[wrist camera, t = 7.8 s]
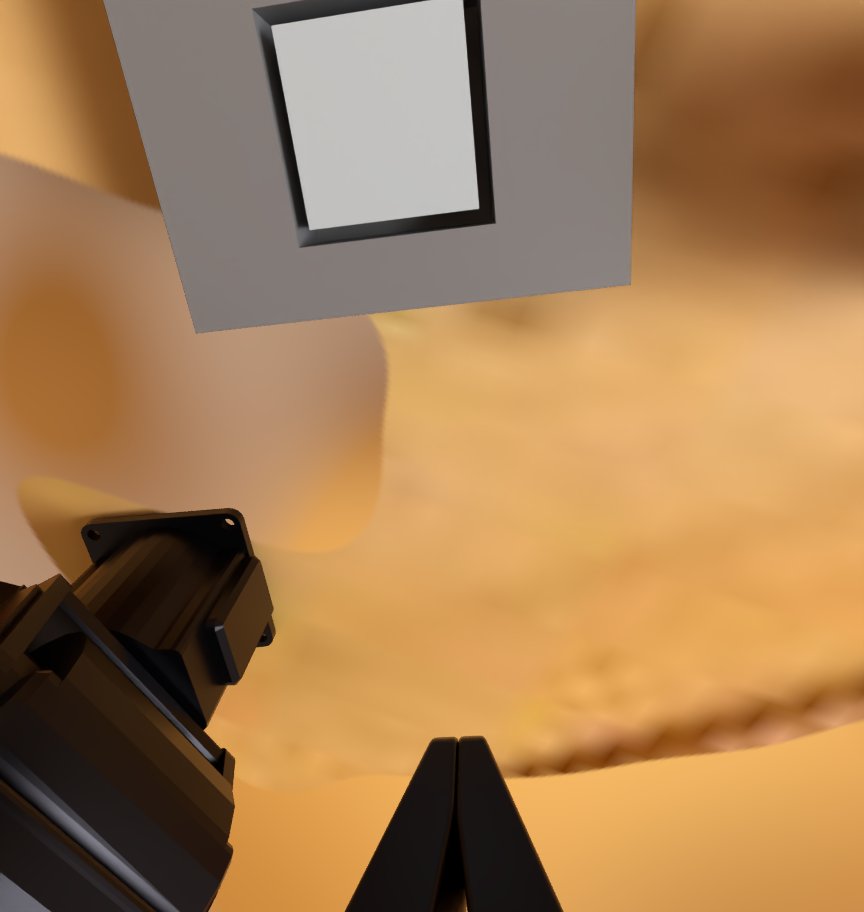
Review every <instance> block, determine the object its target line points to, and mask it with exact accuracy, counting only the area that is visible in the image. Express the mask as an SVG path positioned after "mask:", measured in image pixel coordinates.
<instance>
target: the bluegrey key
mask: <svg viewBox="0 0 864 912" xmlns="http://www.w3.org/2000/svg"><path fill="white" fill-rule="evenodd" d="M271 27H272V33H273V38H274V43H275V49H276V54H277V59H278V65H279V70H280V75H281V81H282V86H283V91H284V97H285V102H286V107H287V113H288V118H289V123H290V129H291V134H292V139H293V145H294V150H295V155H296V161H297V166H298V171H299V177H300V182H301V187H302V193H303V198H304V203H305V209H306V214H307V219H308V225H309V230H315V229H323V228H331V227H339V226H347V225H355V224H362V223H370V222H378V221H386V220H394V219H402V218H410V217H418V216H426V215H433V214H441V213H449V212H457V211H465V210H473V209H479V200H478V188H477V175H476V162H475V149H474V137H473V124H472V111H471V98H470V86H469V73H468V60H467V47H466V35H465V22H464V9H463V0H428V1H422V2H416V3H409V4H403V5H397V6H391V7H385V8H378V9H372V10H366V11H360V12H354V13H347V14H341V15H335V16H329V17H323V18H316V19H310V20H304V21H298V22H292V23H285V24H279V25H273V26H271Z"/></svg>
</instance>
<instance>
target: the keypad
mask: <svg viewBox="0 0 864 912" xmlns="http://www.w3.org/2000/svg"><path fill="white" fill-rule="evenodd" d="M422 1H428V0H103V2H104V5H105V9H106V13H107V16H108V20H109V23H110V27H111V30H112V34H113V38H114V41H115V45H116V48H117V52H118V56H119V59H120V63H121V66H122V70H123V74H124V77H125V81H126V84H127V88H128V91H129V95H130V99H131V102H132V106H133V109H134V113H135V117H136V120H137V124H138V127H139V131H140V135H141V138H142V142H143V145H144V149H145V152H146V156H147V160H148V163H149V167H150V170H151V174H152V178H153V181H154V185H155V188H156V192H157V196H158V199H159V203H160V206H161V210H162V213H163V217H164V221H165V224H166V228H167V231H168V235H169V239H170V242H171V246H172V249H173V252H174V257H175V260H176V264H177V267H178V271H179V274H180V278H181V281H182V285H183V289H184V292H185V296H186V300H187V303H188V307H189V310H190V314H191V318H192V321H193V325H194V328H195V332H196V333H204V332H213V331H222V330H231V329H240V328H248V327H257V326H266V325H275V324H284V323H293V322H302V321H311V320H320V319H328V318H338V317H346V316H356V315H365V314H374V313H382V312H391V311H400V310H409V309H418V308H427V307H436V306H445V305H454V304H463V303H472V302H481V301H490V300H499V299H507V298H516V297H525V296H534V295H543V294H552V293H561V292H570V291H579V290H588V289H597V288H606V287H615V286H624V285H631V236H632V180H633V124H634V68H635V12H636V0H463V9H464V22H465V35H466V47H467V60H468V73H469V86H470V98H471V111H472V124H473V137H474V149H475V162H476V175H477V188H478V200H479V209H473V210H465V211H457V212H449V213H441V214H433V215H426V216H418V217H410V218H402V219H394V220H386V221H378V222H370V223H362V224H355V225H347V226H339V227H331V228H323V229H315V230H309V225H308V219H307V214H306V209H305V203H304V198H303V193H302V187H301V182H300V177H299V171H298V166H297V161H296V155H295V150H294V145H293V139H292V134H291V129H290V123H289V118H288V113H287V107H286V102H285V97H284V91H283V86H282V81H281V75H280V70H279V65H278V59H277V54H276V49H275V43H274V38H273V33H272V27H271V26H273V25H279V24H285V23H292V22H298V21H304V20H310V19H316V18H323V17H329V16H335V15H341V14H347V13H354V12H360V11H366V10H372V9H378V8H385V7H391V6H397V5H403V4H409V3H416V2H422Z"/></svg>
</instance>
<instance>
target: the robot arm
mask: <svg viewBox="0 0 864 912" xmlns="http://www.w3.org/2000/svg"><path fill="white" fill-rule="evenodd" d="M225 519H230V520H232V521H233V523H234V525H230V524H228V523H227V522H226V520H225ZM94 530H96V531H97V532H98V533H99V534H100V535H98V534H96V533H95V532H94ZM81 534H82V538H83V540H84V542H85V545H86V547H87V550H88V552H89V554H90V557H91V559H92V562H93V564H92V565H91V566H90V567H89V568H88V569H87V570H86V571H85V572H84V573H83V574H82V575H81V576H80V577H79V578H78V579H77V580H76V581H75V582H74V583H73V584H72V585H70V584H69V583H68V582H67V581H66V579H65V578H64V577H63V576H62V575H61V574H57V575H55V576H54V577H52V578H50V579H48V580H46V581H44V582H43V583H41V584H39V585H37V584H36V585H33V586H30V587H28V588H27V587H26V586H25V585H22V586H17V585H13V584H9V583H5V582H1V581H0V912H208V911H209V909H210V907H211V905H212V903H213V901H214V899H215V897H216V895H217V893H218V890H219V888H220V886H221V884H222V881H223V879H224V877H225V875H226V872H227V870H228V868H229V865H230V863H231V859H232V854H233V847H232V845H230V843H228V838H229V834H230V829H231V824H232V818H233V813H234V808H235V805H234V798H233V792H232V789H233V779H234V768H235V758H234V757H233V756H232V755H231V754H230V753H229V752H228V751H227V750H226V749H225V748H222V749H221V748H220V747H219V746H218V745H217V744H216V743H215V742H214V741H213V740H212V739H211V738H210V737H209V736H208V735H207V734H206V732H205V731H204V729H205V728H206V727H207V726H208V724H209V722H210V720H211V717H212V715H213V713H214V711H215V709H216V707H217V705H218V703H219V701H220V699H221V697H222V695H223V693H224V691H225V689H226V687H227V685H236V684H237V683H238V682H239V681H240V679H241V678H242V676H243V674H244V672H245V670H246V668H247V666H248V663H249V661H250V659H251V657H252V655H253V653H254V651H255V648H256V647H264V646H268V645H270V644H271V643H272V641H273V639H274V636H275V634H276V631H275V627H274V623H273V620H272V616H271V614H272V612H273V605H272V601H271V597H270V594H269V590H268V587H267V583H266V579H265V576H264V572H263V569H262V565H261V562H260V560H259V559H258V558H257V557H256V556H254V552H253V549H252V545H251V541H250V538H249V535H248V531H247V527H246V524H245V520H244V517H243V515H242V514H241V513H240V512H239V511H238V510H235V509H231V508H224V509H212V510H200V511H188V512H176V513H163V514H151V515H139V516H127V517H115V518H103V519H94V520H91V521H90V522H89V523H87V524H86V525H85V526H84V527H83V528H82V531H81ZM262 633H264V634H266V636H264V635H262ZM466 906H467V911H468V912H563V910H562V908H561V905H560V903H559V901H558V898H557V896H556V894H555V892H554V890H553V887H552V885H551V883H550V881H549V879H548V876H547V874H546V872H545V870H544V868H543V865H542V863H541V861H540V858H539V856H538V854H537V852H536V850H535V847H534V845H533V843H532V841H531V838H530V836H529V834H528V832H527V829H526V828H525V825H524V823H523V821H522V818H521V816H520V814H519V812H518V809H517V807H516V805H515V803H514V801H513V798H512V796H511V794H510V792H509V790H508V787H507V785H506V783H505V781H504V778H503V776H502V774H501V772H500V769H499V767H498V765H497V763H496V761H495V758H494V756H493V754H492V752H491V749H490V747H489V745H488V743H487V741H486V739H485V738H484V737H483V736H463V737H461V738H460V739H459V741H458V739H457V738H455V737H439V738H434V739H432V740H431V742H430V743H429V745H428V747H427V749H426V751H425V753H424V755H423V757H422V759H421V761H420V763H419V765H418V767H417V769H416V771H415V773H414V775H413V777H412V779H411V781H410V783H409V785H408V787H407V789H406V791H405V793H404V795H403V797H402V799H401V801H400V803H399V805H398V807H397V809H396V811H395V813H394V815H393V817H392V819H391V821H390V823H389V825H388V827H387V829H386V831H385V833H384V835H383V837H382V839H381V841H380V843H379V845H378V846H377V849H376V851H375V852H374V855H373V857H372V858H371V861H370V862H369V865H368V866H367V868H366V870H365V872H364V874H363V876H362V878H361V880H360V882H359V884H358V886H357V888H356V890H355V892H354V894H353V896H352V898H351V900H350V902H349V904H348V906H347V908H346V910H345V912H466Z"/></svg>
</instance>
